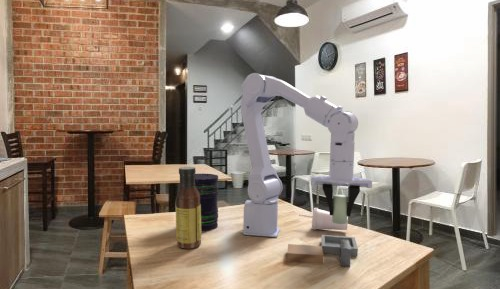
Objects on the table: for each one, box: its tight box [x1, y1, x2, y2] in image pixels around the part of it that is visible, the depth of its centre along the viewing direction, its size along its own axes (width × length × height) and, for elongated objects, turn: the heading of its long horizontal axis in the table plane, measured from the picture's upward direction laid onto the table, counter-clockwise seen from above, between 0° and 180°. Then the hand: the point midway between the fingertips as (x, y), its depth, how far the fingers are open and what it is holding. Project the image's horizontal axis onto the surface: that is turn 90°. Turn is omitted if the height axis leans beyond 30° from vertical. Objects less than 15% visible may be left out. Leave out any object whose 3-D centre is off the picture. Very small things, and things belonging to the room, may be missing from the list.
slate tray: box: [320, 234, 359, 257], centre depth 91 cm, size 8×8×2 cm
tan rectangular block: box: [286, 243, 324, 265], centre depth 85 cm, size 8×6×2 cm
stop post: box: [339, 239, 352, 268], centre depth 83 cm, size 2×6×4 cm, turn 169°
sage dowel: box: [332, 194, 348, 224], centre depth 90 cm, size 4×4×6 cm
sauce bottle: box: [174, 166, 202, 250], centre depth 91 cm, size 6×6×20 cm
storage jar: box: [195, 173, 219, 232], centre depth 107 cm, size 10×10×15 cm
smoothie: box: [298, 207, 349, 231], centre depth 106 cm, size 6×6×14 cm
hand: (339, 214), depth 91 cm, fingers closed on sage dowel, 4 cm apart
